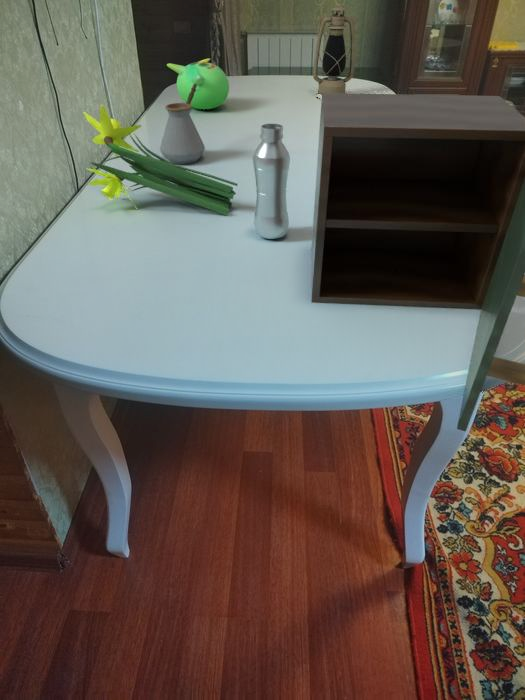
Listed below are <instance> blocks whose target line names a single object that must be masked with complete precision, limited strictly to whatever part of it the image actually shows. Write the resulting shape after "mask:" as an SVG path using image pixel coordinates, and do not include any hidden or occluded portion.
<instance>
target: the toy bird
mask: <svg viewBox="0 0 525 700" xmlns="http://www.w3.org/2000/svg"><path fill="white" fill-rule="evenodd" d="M209 61H211V58H205V59H202V60H199V61H194V62H191V63H189V64H187V65H180V64H176V63H167V64H166V66H167V67H168V68H169V69H170V70H172V71H173V72H175V73H177V74H178V75H177V78H176V79H177V80H176V89H177V93H178V95H179V96H180V99H181V100H182V101H183V103H187V99H188V96H189V93H190V92H191V88H192V86H193V85H194V84H195V83H196V84H197V85H199V86H200V87H199V86H196V88H195V89H196V90H199V89H200V90H199V91H195V92H194V97H193V99H192V101H191V103H190V105H191V106H192V109H197V110H201V109H203V111H204V110H205V109H207V110H213V109H215V108H218V107H219V106H221V105H222V104H223V103H224V102H225V101H226V99H227V97H228V95H229V92H230V82H229V79H228V77H227V74H226V73H225V72H224V71H223V69H222V68H221V67H219V66H218V65H216V64H215V63H212V62H209ZM205 111H206V110H205Z"/></svg>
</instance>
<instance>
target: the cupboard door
mask: <svg viewBox="0 0 525 700" xmlns="http://www.w3.org/2000/svg"><path fill="white" fill-rule="evenodd" d="M517 297H521V298H525V178H524V181H523V185H522V188H521V191H520V194H519V197H518V200H517V203H516V206H515V209H514V212H513V215H512V218H511V221H510V224H509V227H508V230H507V233H506V236H505V239H504V242H503V245H502V248H501V251H500V254H499V257H498V260H497V263H496V266H495V269H494V273H493V276H492V279H491V282H490V285H489V288H488V291H487V294H486V297H485V300H484V303H483V306H482V309H481V310H480V312H479V317H478V318H479V319H478V323H477V327H476V332H475V338H474V343H473V347H472V352H471V356H470V363H469V367H468V372H467V376H466V382H465V385H464V392H463V397H462V402H461V405H460V411H459V416H458V421H457V426H456V429H457V430H459V431H462V432H466V431H467V429H468V426H469V423H470V422H471V418H472V416H473V413H474V411H475V407H476V405H477V402H478V399H479V397H480V394H481V391H482V389H483V386H484V384H485V381H486V379H487V377H491V378H495V379H499V380H502V381H506V382H511V383H514V384H518V385H522V386H525V363H521V362H518V361H513V360H509V359H505V358H501V357H497V356H495V355H496V351H497V349H498V346H499V343H500V341H501V339H502V335H503V333H504V330H505V328H506V326H507V322H508V320H509V316H510V314H511V311H512V309H513V307H514V304H515V301H516V298H517Z"/></svg>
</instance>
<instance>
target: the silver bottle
mask: <svg viewBox="0 0 525 700" xmlns="http://www.w3.org/2000/svg"><path fill="white" fill-rule="evenodd" d="M259 138H260V139H261V142H260V143H259V144H258V146H257V147H256V148H255V150H254V152H253V156H252V164H253V170H254V178H255V187H256V202H255V203H256V204H255V212H254V218H253V225H254V230H255V232H256V234H257V235H258V236H259V237H261V238H264V239H269V240H276V239H280V238H283V237H285V235H286V234H287V233H288V231H289V225H290V220H289V214H288V208H287V207H288V206H287V205H288V204H287V184H288V176H289V171H290V163H291V162H290V161H291V157H290V152H289V150H288V148H287V147H286V145H285V144H284V143H283V139H284V126H283V124H279V123H264V124H262V125H261V126H260V135H259Z"/></svg>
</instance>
